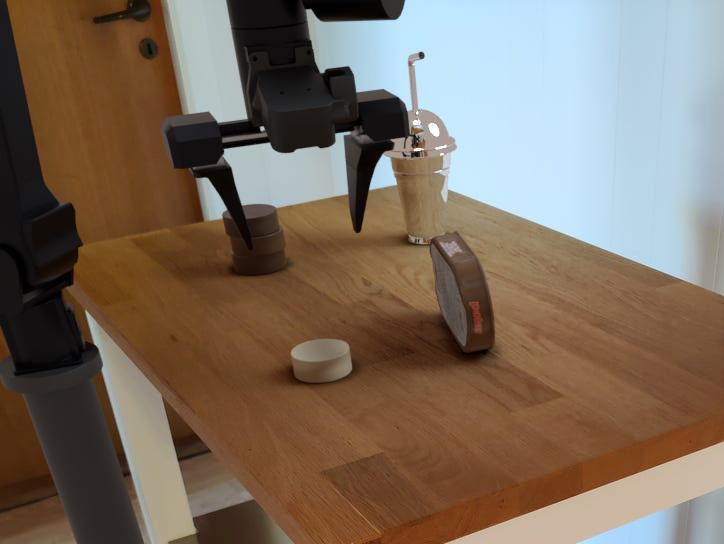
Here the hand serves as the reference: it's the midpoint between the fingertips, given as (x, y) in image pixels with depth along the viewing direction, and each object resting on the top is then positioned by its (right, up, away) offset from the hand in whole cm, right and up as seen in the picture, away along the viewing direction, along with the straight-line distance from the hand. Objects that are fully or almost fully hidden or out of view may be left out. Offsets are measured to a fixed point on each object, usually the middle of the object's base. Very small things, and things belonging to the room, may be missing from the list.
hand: (304, 240), depth 83 cm
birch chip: (+1, -10, +5) cm, 11 cm away
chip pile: (-10, +9, +30) cm, 33 cm away
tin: (+13, -5, +10) cm, 18 cm away
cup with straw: (+8, +14, +35) cm, 39 cm away
